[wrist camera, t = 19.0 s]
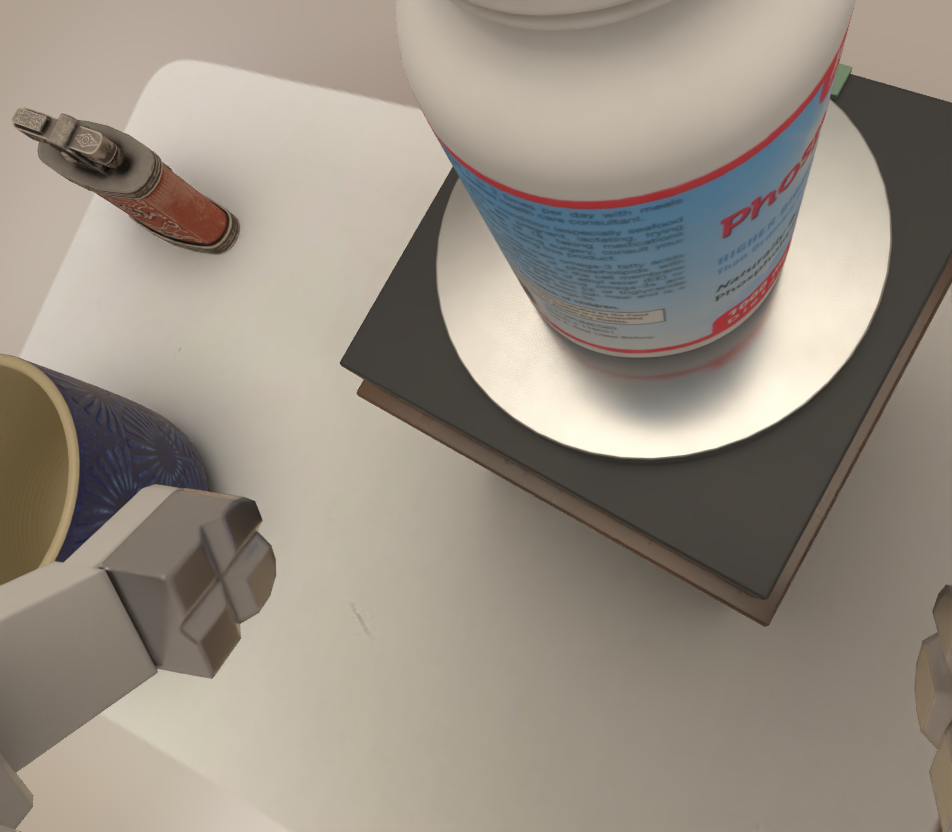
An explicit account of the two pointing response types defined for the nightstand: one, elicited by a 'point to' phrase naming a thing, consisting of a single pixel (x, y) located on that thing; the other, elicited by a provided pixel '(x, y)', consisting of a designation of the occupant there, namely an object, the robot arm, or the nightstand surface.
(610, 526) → the walnut riser
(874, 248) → the kitchen scale
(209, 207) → the lighter
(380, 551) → the nightstand surface
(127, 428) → the planter
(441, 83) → the pill bottle
